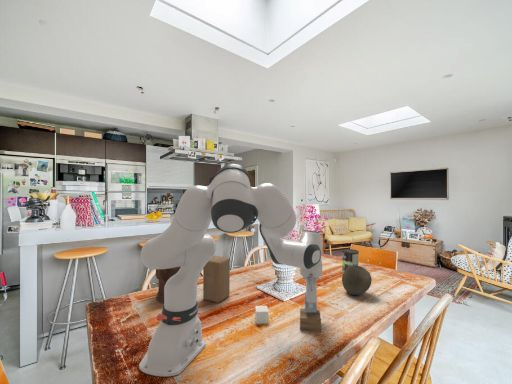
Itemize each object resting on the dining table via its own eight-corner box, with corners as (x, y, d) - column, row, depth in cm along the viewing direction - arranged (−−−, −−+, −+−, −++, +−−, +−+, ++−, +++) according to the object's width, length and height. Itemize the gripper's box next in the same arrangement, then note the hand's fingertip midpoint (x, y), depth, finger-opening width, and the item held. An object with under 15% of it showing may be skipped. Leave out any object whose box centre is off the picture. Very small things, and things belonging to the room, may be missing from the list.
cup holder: (199, 290, 131) (199, 244, 131) (175, 312, 108) (175, 256, 108) (169, 286, 136) (169, 242, 135) (139, 307, 112) (139, 253, 112)
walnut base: (320, 333, 94) (320, 320, 93) (299, 330, 95) (300, 318, 95) (319, 321, 101) (319, 310, 101) (300, 319, 103) (300, 308, 103)
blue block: (316, 312, 95) (316, 297, 95) (305, 311, 96) (305, 296, 96) (315, 307, 100) (316, 292, 99) (305, 305, 100) (305, 291, 100)
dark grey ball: (352, 301, 119) (352, 271, 119) (336, 289, 133) (337, 262, 133) (376, 299, 122) (377, 269, 122) (359, 287, 136) (359, 261, 136)
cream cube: (268, 323, 100) (268, 311, 100) (256, 323, 99) (256, 311, 99) (266, 317, 105) (266, 305, 105) (255, 317, 104) (255, 305, 104)
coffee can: (344, 273, 159) (344, 252, 159) (340, 268, 169) (341, 248, 169) (360, 274, 158) (360, 253, 157) (356, 269, 168) (356, 249, 168)
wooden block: (202, 299, 121) (202, 259, 120) (214, 291, 129) (214, 254, 129) (218, 304, 116) (218, 262, 116) (230, 295, 125) (230, 257, 124)
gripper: (320, 280, 87) (320, 318, 87) (317, 263, 107) (317, 294, 107) (302, 278, 88) (302, 316, 88) (302, 262, 108) (302, 292, 108)
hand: (310, 303), depth 98 cm, fingers closed on blue block, 4 cm apart
